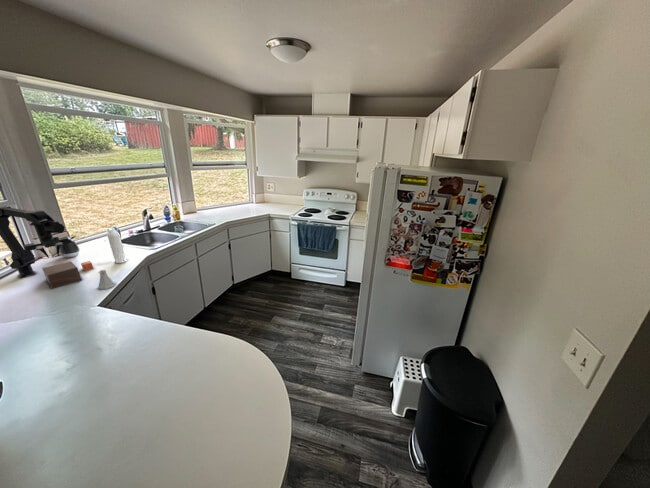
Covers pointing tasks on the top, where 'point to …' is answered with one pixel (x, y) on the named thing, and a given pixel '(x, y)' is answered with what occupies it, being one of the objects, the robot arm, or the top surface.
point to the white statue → (116, 246)
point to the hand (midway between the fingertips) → (53, 256)
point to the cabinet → (61, 274)
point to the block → (87, 266)
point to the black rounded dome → (69, 248)
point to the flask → (105, 280)
